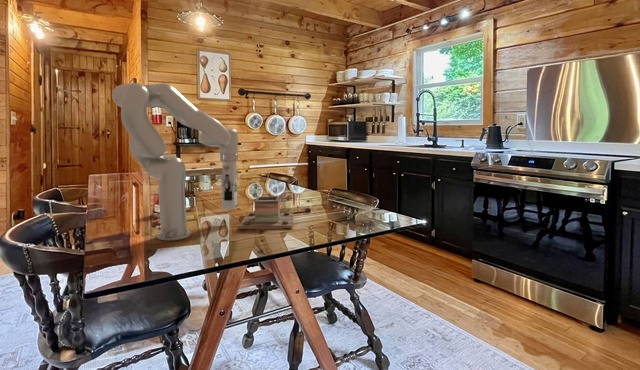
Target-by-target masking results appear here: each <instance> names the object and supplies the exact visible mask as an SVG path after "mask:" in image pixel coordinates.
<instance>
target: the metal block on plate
mask: <svg viewBox="0 0 640 370" xmlns="http://www.w3.org/2000/svg"><path fill="white" fill-rule="evenodd" d="M280 201H281V199H280V196H256V198H255V199H254V212H249V213H245V215H244V218H242V221H241V222H240V224H239V225H238V230H239V229H256V230H283V229H282V228H292V229H293V225H292V224H293V223H294V212H289V211H284V212H281V211H280V210H281V209H280V207H281V204H280Z"/></svg>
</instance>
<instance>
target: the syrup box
mask: <svg viewBox="0 0 640 370" xmlns="http://www.w3.org/2000/svg"><path fill="white" fill-rule="evenodd" d="M224 184H225V181H224ZM224 184H223V178H222V176H221V177H220V187H221V188H220V190H221V193H220V194H221V209H222V210H225V211H227V210H228V211H229V210H231V211H233V210H234V211H235V210H236V209H237V208H238V207H239V205H238V204H239V202H238V199H239V198H238V179H237V180H236V183H235V184H234V185H233V184H231V191H232V200H231V201H229V200H224V188H225V185H224ZM228 184H230V183H228Z"/></svg>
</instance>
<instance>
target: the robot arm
mask: <svg viewBox="0 0 640 370" xmlns="http://www.w3.org/2000/svg"><path fill="white" fill-rule="evenodd" d="M111 98H112V101H113V102H114V104H115V105H117V107H120V108H121V111H120V116H121V123H122V125H123V126H124V129H125V130H126V132H127V134H129V136H130V138H129V142H128V147H129V150H130V153H131V154H132V156H133V157H134V158H135V160H137V162H138V163H139V164H140V166H141V167H142V168H143V170H144V171H145V172H146V173H147V174H148V175H149V176H150V177H152V178H155V179H158V180H159V183H158V188H157V190H158V193H157V194H158V195H157V197H158V205H159V220H160V221H159V223H160V232H158V233H157V234H156V235H157V236H156V238H157V239H158V240H160V241H167V242H168V241H178V240H184V239H186V238H189V237H191V235H192V231H191V230H189V229H187V227H188V225H187V213H186V212H187V211H186V209H187V208H186V206H185V201H186V195H185V181H186V165H185V163H184V161H183V160H182V159H181V158H179V157H177V156H176V155H175V156H174V155H165V154H166V152H167V148H168V147H167V143H166V141H165V140H164V138H163V137H162V135H161V134H160V133H159V131H158V129H156V127H155V126H154V124H153V123H152V121H151V120H150V118H149V115H148V108H156V107H157V108H160V107H161V108H162V109H163V110H165V111H166V112H167V113H168V114H169V115H171V116H172V117H173V118H174V119H175V120H176V121H178V122H179V123H180V124H181V125H183V126H184V127H185V126H186V127H188V128H191V129H194V130H197V131H199V132H201V133H200V135H199V139H200V142H201V143H202V144H203V145H204V146H207V147H213V148H219V162H221V163H222V169H221V170H222V172H221V173H222V174H221V175H222V176H221V177H222V178H223V184H224V181H225V184H224V185H225V188H224V200H229V201H231V200H232V191H231V184H233V185H234V184H235V183H236V180H237V181H238V169H237V168H238V166H237V162H239V151H238V150H239V149H238V148H239V147H238V145H239V144H238V143H239V141H238V137H239V135H238V131H237V130H236V129H232V128H228V129H227V128H226V127H225V126H224V125H223V124H222V123H221V122H220V121H219V120H217V119H216V118H215V117H213V116H211V115H209V114H208V113H206V112H204V111H203V110H201V109H199V108H197V106H195V105H194V104H193V103H192V102H190V101H189V100H188V99H187V98H186V97H185V95H183V94H181V92H180V91H178V90H177V89H176V88H175V87H174V86H173V85H171V84H169V83H167V82H165V83H164V82H161V83H153V84H142V83H139V82H130V83H124V84H120V85H117V86H116V87H114V88H113V90H112V94H111ZM228 183H230V184H228Z"/></svg>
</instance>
